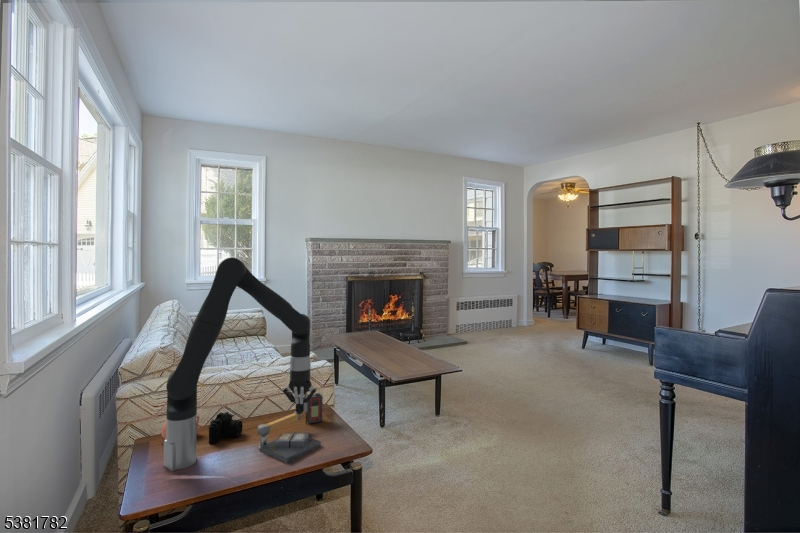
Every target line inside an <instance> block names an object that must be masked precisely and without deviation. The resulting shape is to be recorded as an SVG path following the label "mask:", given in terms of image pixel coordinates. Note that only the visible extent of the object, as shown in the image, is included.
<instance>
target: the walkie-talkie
mask: <svg viewBox="0 0 800 533" xmlns="http://www.w3.org/2000/svg"><path fill="white" fill-rule="evenodd" d="M307 397H308V395H307V393H306V394H305V398H307ZM323 398H324V397H323V396H322V394H321V393H320V392H315V393H314V395H313V396H312V397H311V398H310V400H309V401H308V402H307V403H304V413H305V424H306V425H307V424H313V423H314V424H315V423H316V424H317V423H321V422H322V421H323Z"/></svg>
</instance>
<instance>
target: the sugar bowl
mask: <svg viewBox="0 0 800 533" xmlns="http://www.w3.org/2000/svg"><path fill="white" fill-rule="evenodd" d="M199 421H200V416H199V415H198V414H197V431H199V430H200V429H202V428H201V427H202V426H201V424H199ZM166 431H167V419H166V420H165V421H164V423H163V425H162V427H161V431H160V432H161V433H160V435H161V437H162V438H163V439H164V440H166Z"/></svg>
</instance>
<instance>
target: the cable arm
mask: <svg viewBox="0 0 800 533" xmlns="http://www.w3.org/2000/svg"><path fill="white" fill-rule="evenodd" d="M300 420H301V414H297V412H296V410H295V411H293V413H291V414H288V415H286V416H283V417H281V418H279V419H278V418H277V419H276V420H273V421H271V422H268V423H262V424H259V425H258V426H257V435H258V436H260V435H267V436H268V435H269V434H271V432H273V431H275V430H277V429H279V428H283V427H285V426H287V425H289V424H291V423H295V422H296V421H300Z"/></svg>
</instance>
